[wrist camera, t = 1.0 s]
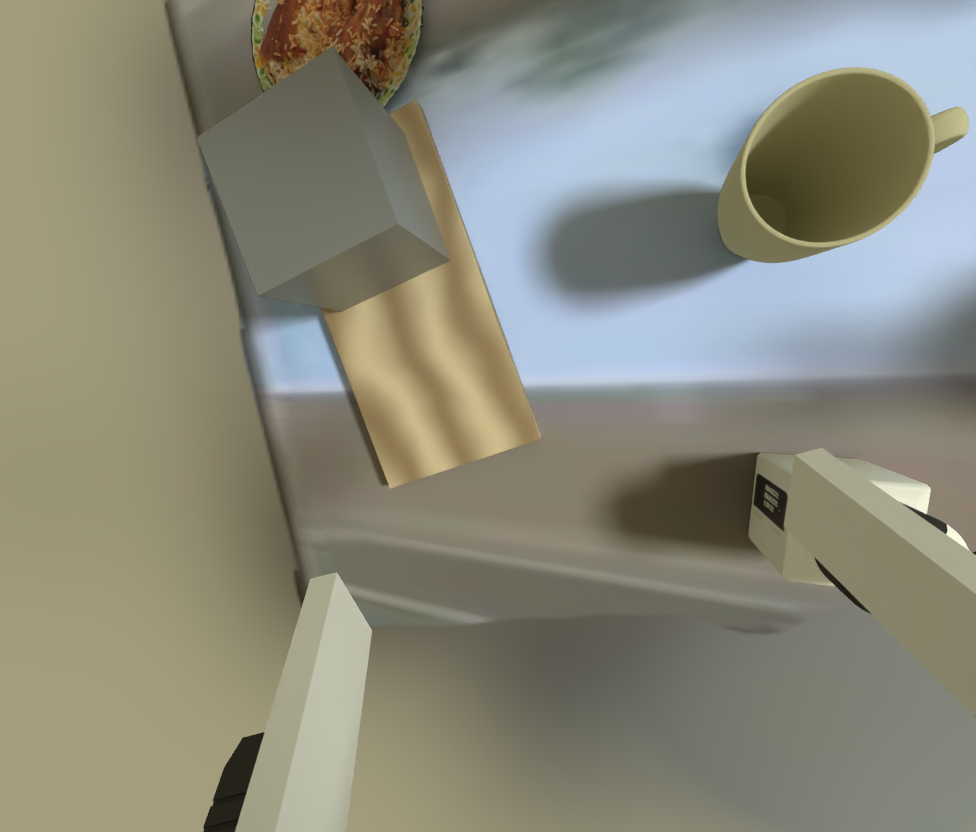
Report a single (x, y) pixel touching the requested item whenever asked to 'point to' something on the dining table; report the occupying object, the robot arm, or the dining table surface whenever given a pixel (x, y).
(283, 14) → the food
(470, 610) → the dining table surface
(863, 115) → the mug
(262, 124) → the grey matte cube
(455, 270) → the board
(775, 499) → the container
